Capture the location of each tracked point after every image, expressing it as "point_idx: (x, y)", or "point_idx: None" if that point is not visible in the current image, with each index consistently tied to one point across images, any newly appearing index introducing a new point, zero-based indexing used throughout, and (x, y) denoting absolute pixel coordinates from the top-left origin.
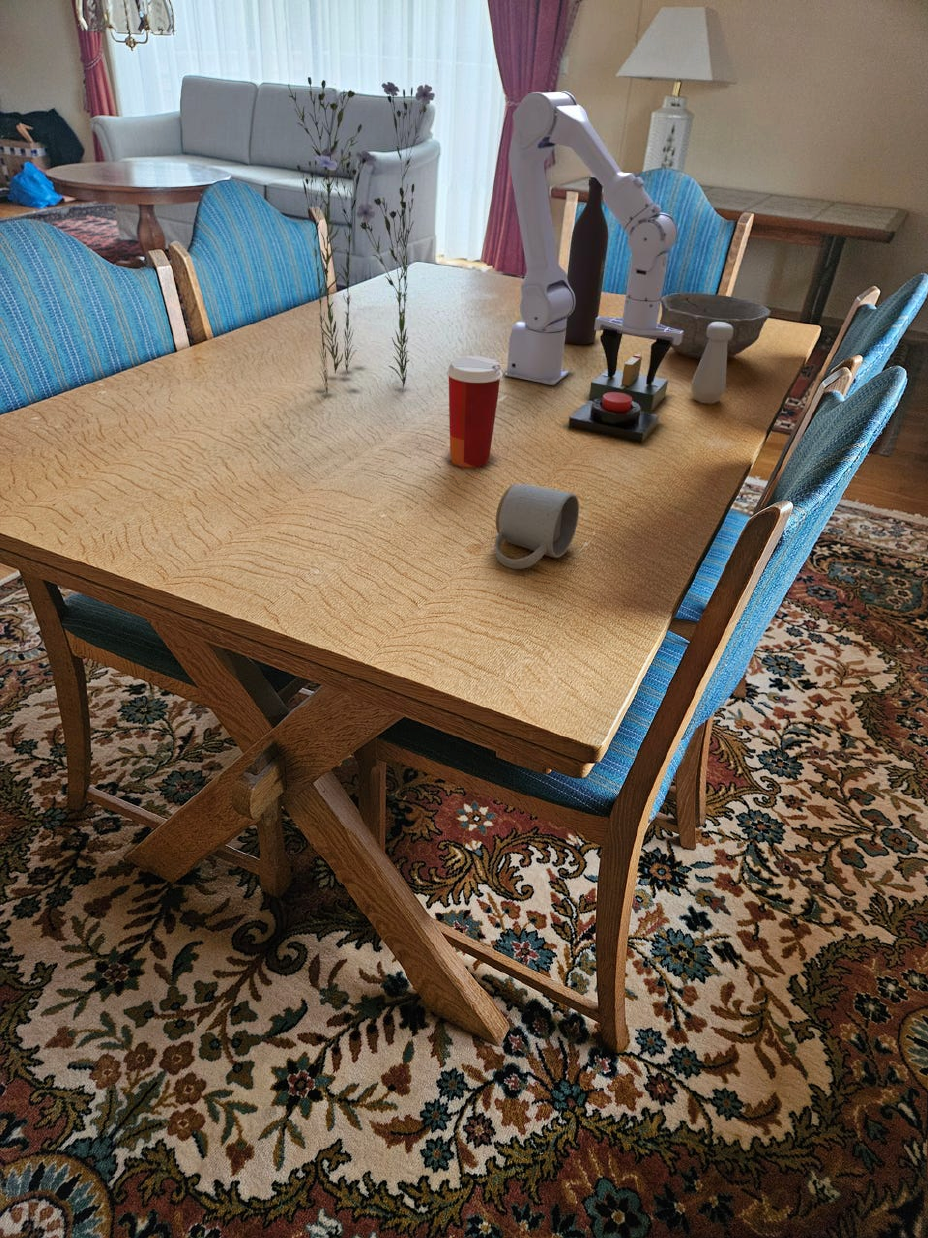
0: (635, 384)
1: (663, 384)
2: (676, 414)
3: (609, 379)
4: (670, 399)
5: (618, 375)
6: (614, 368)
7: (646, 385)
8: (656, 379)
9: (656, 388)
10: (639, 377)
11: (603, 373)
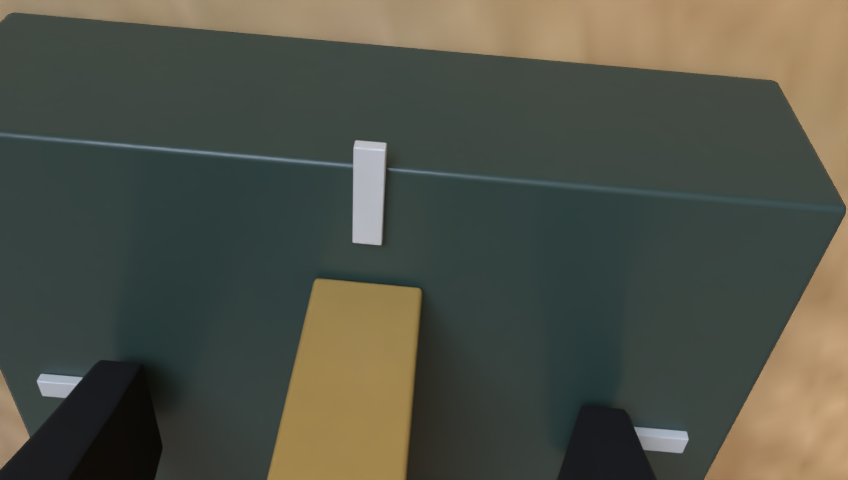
0: (444, 459)
1: (758, 369)
2: (840, 416)
3: (162, 442)
4: (835, 133)
5: (179, 320)
6: (124, 474)
7: (560, 450)
8: (668, 266)
9: (671, 478)
10: (433, 281)
11: (3, 328)
